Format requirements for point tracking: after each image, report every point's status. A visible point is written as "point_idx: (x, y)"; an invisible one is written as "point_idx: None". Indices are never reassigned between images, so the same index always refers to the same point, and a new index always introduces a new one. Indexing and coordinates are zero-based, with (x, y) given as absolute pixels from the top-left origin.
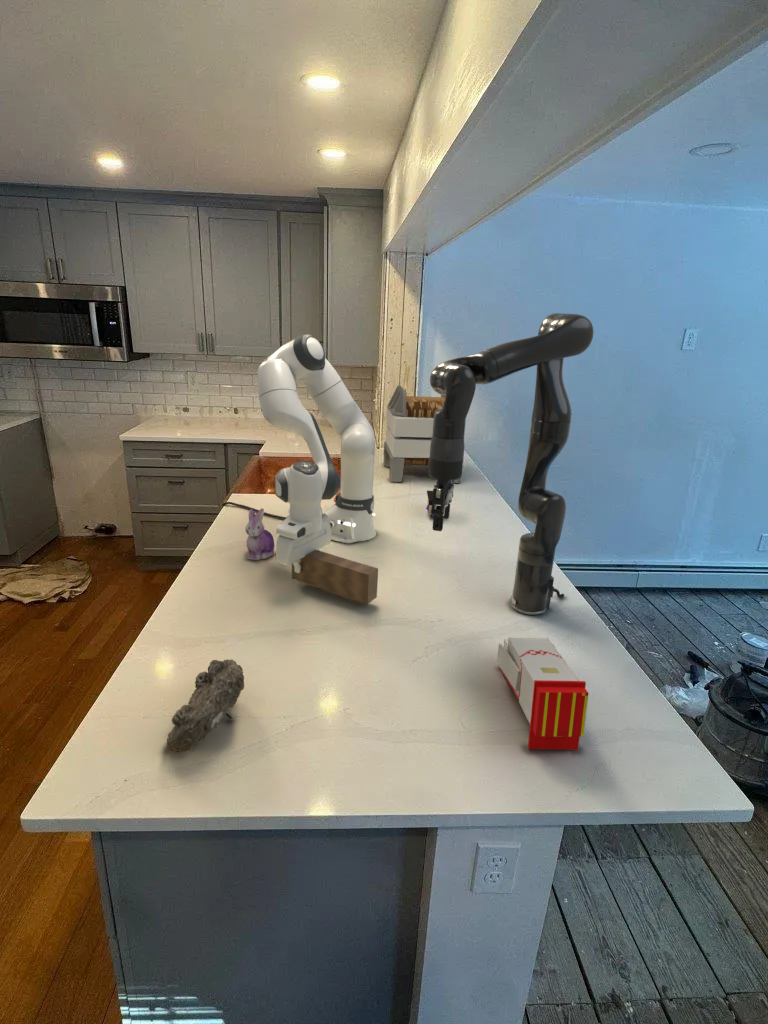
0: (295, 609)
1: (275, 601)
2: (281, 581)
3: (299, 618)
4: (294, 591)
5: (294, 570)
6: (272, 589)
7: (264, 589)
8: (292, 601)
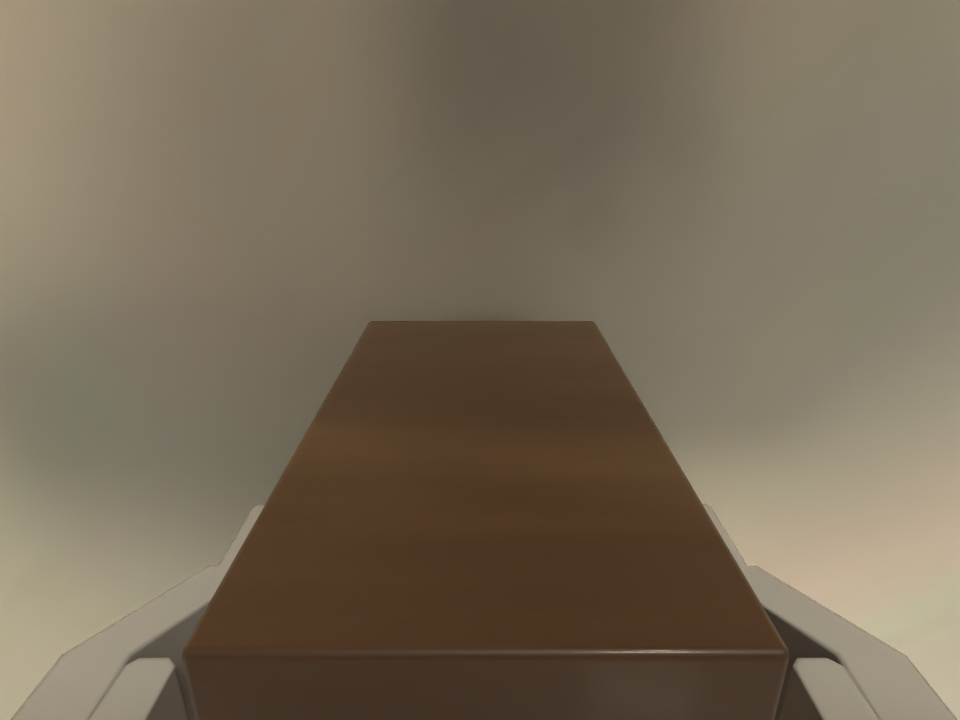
0: (73, 593)
1: (18, 374)
2: (391, 107)
3: (8, 685)
4: (305, 394)
5: (253, 510)
6: (164, 163)
7: (90, 75)
8: (147, 497)
